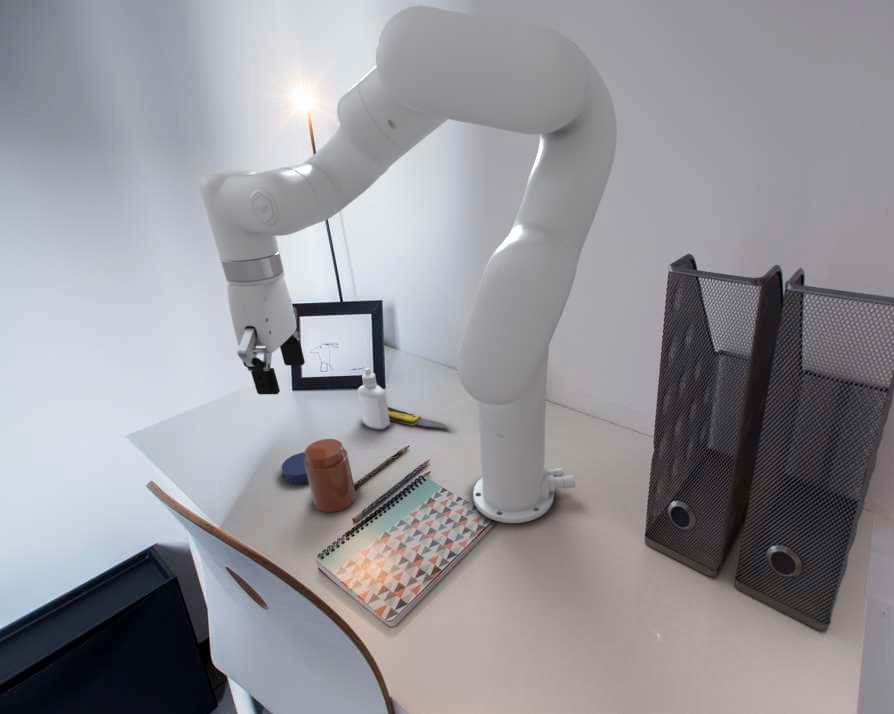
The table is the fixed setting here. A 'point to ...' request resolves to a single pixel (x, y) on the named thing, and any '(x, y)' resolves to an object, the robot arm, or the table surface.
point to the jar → (329, 475)
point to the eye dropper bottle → (373, 402)
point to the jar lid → (295, 469)
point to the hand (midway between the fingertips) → (282, 378)
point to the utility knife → (412, 419)
